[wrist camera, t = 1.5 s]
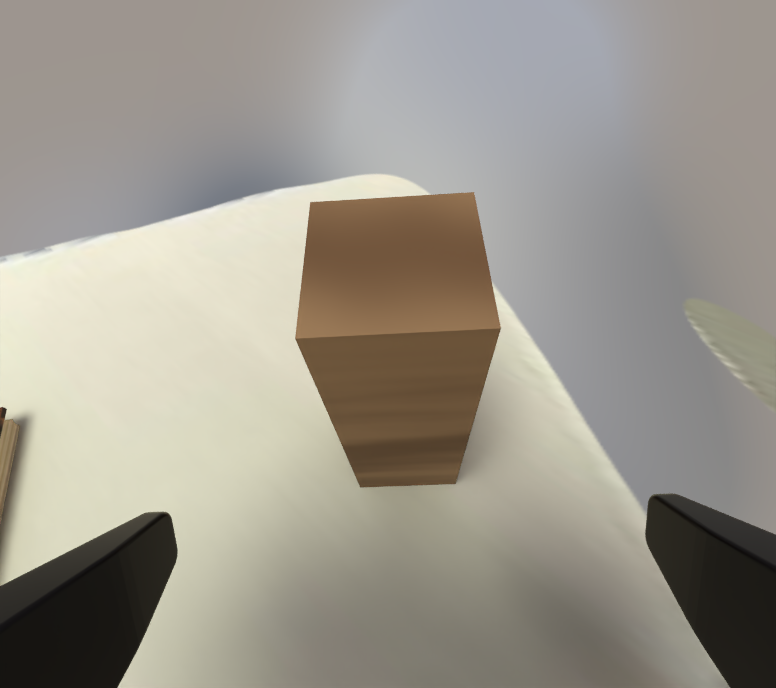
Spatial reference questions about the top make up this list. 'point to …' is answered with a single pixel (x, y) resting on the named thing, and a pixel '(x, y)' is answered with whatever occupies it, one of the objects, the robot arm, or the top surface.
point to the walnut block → (398, 330)
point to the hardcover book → (6, 453)
